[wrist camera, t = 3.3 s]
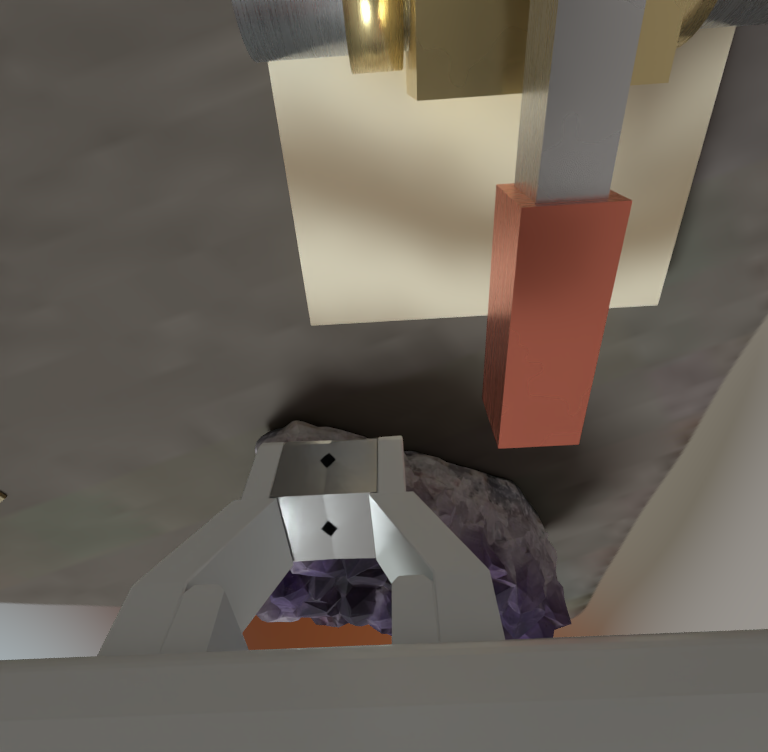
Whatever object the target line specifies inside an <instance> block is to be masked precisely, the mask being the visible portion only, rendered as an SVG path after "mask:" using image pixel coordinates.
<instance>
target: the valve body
mask: <svg viewBox="0 0 768 752" xmlns="http://www.w3.org/2000/svg"><path fill="white" fill-rule="evenodd" d="M231 1H232V5H233V9H234V13H235V16H236V20H237V23H238V27H239V30H240V33H241V36H242V39H243V41H244V44H245V46H246V49H247V51H248V53H249V55H250V57H251V58H252V59H253V60H254V61H255V62H269V61H282V60H295V59H309V58H322V57H335V56H348V55H349V61H350V67H351V72H352V74H362V73H376V72H389V71H402V70H403V59H404V51H405V52H406V86H407V94H408V95H409V96H411V97H412V98H414V99H415V100H416V101H424V100H438V99H451V98H465V97H479V96H493V95H507V94H521V93H522V88H523V77H524V65H525V53H526V42H527V30H528V18H529V7H530V0H231ZM759 24H768V0H646V5H645V10H644V15H643V20H642V26H641V31H640V36H639V41H638V46H637V52H636V57H635V62H634V67H633V72H632V78H631V83H630V86H631V85H645V84H659V83H668V82H669V77H670V73H671V69H672V64H673V60H674V56H675V51H676V49H677V48H679V47H681V46H682V45H683V44H685V43H686V42H687V41H688V40H689V39H690V38H691V37H693V35H694V34H695V33H696V32H697V31H698V30H699V29H706V28H720V27H733V26H746V25H759Z"/></svg>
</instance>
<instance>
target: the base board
mask: <svg viewBox="0 0 768 752" xmlns="http://www.w3.org/2000/svg"><path fill="white" fill-rule="evenodd" d="M735 28H736V26H733V27H720V28H706V29H699V30H698V31H697V32H696V33H695V34H694V35H693V37H691V38H690V39H689V40H688V41H687V42H686V43H685V44H683V45H682V46H681V47H679V48H677V49H676V51H675V56H674V60H673V64H672V69H671V73H670V77H669V82H668V83H659V84H645V85H631V86H630V88H629V93H628V98H627V104H626V109H625V114H624V119H623V124H622V130H621V135H620V140H619V145H618V150H617V156H616V161H615V166H614V171H613V176H612V182H611V187H610V190H612V191H614V192H616V193H618V194H620V195H622V196H624V197H626V198H628V199H630V200H633V201H632V205H631V210H630V214H629V219H628V223H627V228H626V233H625V237H624V242H623V246H622V251H621V255H620V260H619V264H618V269H617V273H616V278H615V282H614V287H613V292H612V296H611V301H610V305H609V308H617V307H634V306H651V305H658V302H659V298H660V295H661V291H662V288H663V284H664V280H665V277H666V273H667V270H668V266H669V263H670V259H671V256H672V252H673V248H674V245H675V241H676V238H677V234H678V231H679V227H680V224H681V220H682V217H683V213H684V209H685V206H686V202H687V199H688V195H689V192H690V188H691V185H692V181H693V177H694V174H695V170H696V167H697V163H698V160H699V156H700V153H701V149H702V145H703V142H704V138H705V135H706V131H707V128H708V124H709V121H710V117H711V113H712V110H713V106H714V103H715V99H716V96H717V92H718V89H719V85H720V82H721V78H722V74H723V71H724V67H725V64H726V60H727V57H728V53H729V50H730V46H731V42H732V39H733V35H734V32H735ZM268 66H269V72H270V78H271V84H272V91H273V97H274V103H275V109H276V115H277V121H278V127H279V133H280V139H281V145H282V151H283V157H284V163H285V170H286V176H287V182H288V188H289V194H290V200H291V206H292V212H293V218H294V224H295V230H296V236H297V242H298V249H299V255H300V261H301V267H302V273H303V279H304V285H305V291H306V297H307V303H308V309H309V315H310V322H311V326H313V325H330V324H346V323H363V322H380V321H397V320H414V319H431V318H448V317H465V316H482V315H488V303H489V288H490V272H491V257H492V242H493V227H494V211H495V196H496V184H509V183H514V182H515V170H516V158H517V147H518V135H519V123H520V112H521V100H522V93H521V94H507V95H493V96H479V97H465V98H451V99H438V100H424V101H416V100H415V99H414V98H412V97H411V96H409V95H408V94H407V86H406V52H405V51H404V59H403V70H402V71H389V72H376V73H362V74H352V72H351V67H350V61H349V55H348V56H335V57H322V58H309V59H295V60H282V61H269V62H268Z"/></svg>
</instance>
